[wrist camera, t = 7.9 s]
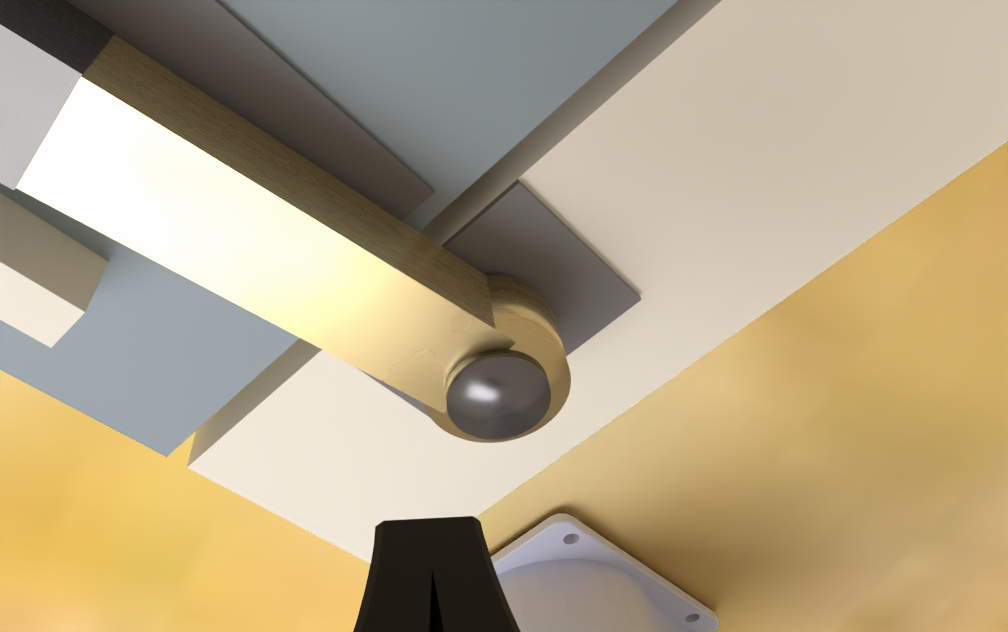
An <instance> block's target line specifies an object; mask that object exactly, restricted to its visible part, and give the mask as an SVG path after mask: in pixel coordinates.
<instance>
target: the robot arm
mask: <svg viewBox="0 0 1008 632" xmlns="http://www.w3.org/2000/svg"><path fill="white" fill-rule="evenodd" d="M719 627H720V621H719V618H718V616H717V614H716V613H715V612H713V611H712V610H710V609H709V608H707V607H706V606H704V605H703V604H701V603H700V602H698V601H697V600H695V599H694V598H692V597H691V596H689V595H688V594H686V593H685V592H683V591H682V590H681V589H679V588H678V587H676V586H675V585H673V584H672V583H670V582H669V581H667V580H666V579H664V578H663V577H661V576H660V575H658V574H657V573H655V572H654V571H652V570H651V569H649V568H648V567H646V566H645V565H644V564H642V563H641V562H639V561H638V560H636V559H635V558H633V557H632V556H630V555H629V554H627V553H626V552H624V551H623V550H621V549H620V548H618V547H617V546H615V545H614V544H612V543H611V542H609V541H608V540H607V539H605V538H604V537H602V536H601V535H599V534H598V533H596V532H595V531H593V530H592V529H590V528H589V527H587V526H586V525H584V524H583V523H581V522H580V521H578V520H577V519H575V518H574V517H572V516H571V515H568V514H564V513H559V514H555V515H553V516H550V517H549V518H547V519H546V520H544V521H543V522H542V523H540V524H539V525H537V526H536V527H534V528H533V529H531V530H530V531H528V532H527V533H525V534H524V535H522V536H521V537H519V538H518V539H516V540H515V541H514V542H512V543H511V544H509V545H508V546H506V547H505V548H503V549H502V550H500V551H499V552H497V553H496V554H494V555H493V556H491V557H490V554H489V551H488V548H487V545H486V541H485V538H484V535H483V531H482V527H481V522H480V521H479V520H478V519H476V518H475V517H473V516H464V517H444V518H424V519H405V520H385V521H382V522H381V523H380V524H378V525H377V526H376V527H375V537H374V547H373V553H372V559H371V565H370V570H369V575H368V579H367V584H366V588H365V592H364V596H363V600H362V603H361V607H360V611H359V615H358V619H357V622H356V625H355V628H354V631H353V632H715V631H716V630H718V628H719Z"/></svg>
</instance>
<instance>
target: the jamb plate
mask: <svg viewBox="0 0 1008 632" xmlns="http://www.w3.org/2000/svg"><path fill="white" fill-rule="evenodd" d="M1007 141H1008V0H678V1H677V2H676V3H675V4H674V5H673V6H671V7H670V8H669V9H668V10H667V11H666V12H665V13H664V14H662V15H661V16H660V17H659V18H658V19H657V20H656V21H655V22H653V23H652V24H651V25H650V26H649V27H648V28H647V29H646V30H644V31H643V32H642V33H641V34H640V35H639V36H638V37H637V38H636V39H634V40H633V41H632V42H631V43H630V44H629V45H628V46H627V47H625V48H624V49H623V50H622V51H621V52H620V53H619V54H618V55H616V56H615V57H614V58H613V59H612V60H611V61H610V62H609V63H608V64H606V65H605V66H604V67H603V68H602V69H601V70H600V71H599V72H597V73H596V74H595V75H594V76H593V77H592V78H591V79H590V80H588V81H587V82H586V83H585V84H584V85H583V86H582V87H581V88H580V89H578V90H577V91H576V92H575V93H574V94H573V95H572V96H571V97H569V98H568V99H567V100H566V101H565V102H564V103H563V104H562V105H560V106H559V107H558V108H557V109H556V110H555V111H554V112H553V113H551V114H550V115H549V116H548V117H547V118H546V119H545V120H544V121H543V122H541V123H540V124H539V125H538V126H537V127H536V128H535V129H534V130H532V131H531V132H530V133H529V134H528V135H527V136H526V137H525V138H523V139H522V140H521V141H520V142H519V143H518V144H517V145H516V146H515V147H513V148H512V149H511V150H510V151H509V152H508V153H507V154H506V155H504V156H503V157H502V158H501V159H500V160H499V161H498V162H497V163H495V164H494V165H493V166H492V167H491V168H490V169H489V170H488V171H486V172H485V173H484V174H483V175H482V176H481V177H480V178H479V179H478V180H476V181H475V182H474V183H473V184H472V185H471V186H470V187H469V188H467V189H466V190H465V191H464V192H463V193H462V194H461V195H460V196H458V197H457V198H456V199H455V200H454V201H453V202H452V203H451V204H450V205H448V206H447V207H446V208H445V209H444V210H443V211H442V212H441V213H439V214H438V215H437V216H436V217H435V218H434V219H433V220H432V221H430V222H429V223H428V224H427V225H426V226H425V227H424V228H423V229H422V230H420V231H419V232H420V233H422V234H423V235H425V236H427V237H428V238H430V239H431V240H433V241H434V242H436V243H437V244H439V245H440V246H442V247H444V248H445V249H447V250H448V251H450V252H451V253H453V254H454V255H456V256H457V257H459V258H461V259H462V260H464V261H465V262H467V263H468V264H470V265H471V266H473V267H474V268H476V269H478V270H479V271H481V272H482V273H484V274H485V275H504V276H510V277H514V278H517V279H520V280H522V281H525V282H527V283H529V284H530V285H532V286H534V287H535V288H536V289H538V290H539V291H540V292H541V293H542V294H543V295H544V296H545V297H546V299H547V300H548V302H549V303H550V305H551V307H552V310H553V313H554V316H555V320H556V323H557V327H558V330H559V334H560V337H561V341H562V344H563V348H564V352H565V355H566V359H567V362H568V366H569V369H570V374H571V387H570V392H569V395H568V398H567V400H566V402H565V404H564V406H563V407H562V409H561V410H560V411H559V413H558V414H557V415H556V416H555V417H554V418H553V419H552V420H551V421H550V422H549V423H547V424H546V425H545V426H543V427H542V428H540V429H539V430H537V431H535V432H533V433H531V434H529V435H526V436H524V437H521V438H518V439H514V440H511V441H505V442H497V443H481V442H473V441H468V440H464V439H461V438H458V437H456V436H453V435H451V434H449V433H447V432H446V431H444V430H443V429H441V428H440V427H439V426H438V425H436V424H435V422H434V421H433V420H432V419H431V418H430V416H429V415H428V413H427V411H426V409H425V407H424V404H423V403H422V402H421V401H419V400H417V399H415V398H413V397H411V396H409V395H407V394H405V393H404V392H402V391H400V390H398V389H396V388H394V387H392V386H390V385H388V384H386V383H385V382H383V381H381V380H379V379H377V378H375V377H373V376H371V375H369V374H368V373H366V372H364V371H362V370H360V369H358V368H356V367H354V366H352V365H351V364H349V363H347V362H345V361H343V360H341V359H339V358H337V357H335V356H333V355H332V354H330V353H328V352H326V351H324V350H322V349H320V348H318V347H316V346H315V345H313V344H311V343H309V342H307V341H305V340H303V339H301V338H299V339H298V340H297V341H296V342H295V343H294V344H293V345H292V346H290V347H289V348H288V349H287V350H286V351H285V352H284V353H283V354H281V355H280V356H279V357H278V358H277V359H276V360H275V361H274V362H272V363H271V364H270V365H269V366H268V367H267V368H266V369H265V370H264V371H262V372H261V373H260V374H259V375H258V376H257V377H256V378H255V379H253V380H252V381H251V382H250V383H249V384H248V385H247V386H246V387H244V388H243V389H242V390H241V391H240V392H239V393H238V394H237V395H235V396H234V397H233V398H232V399H231V400H230V401H229V402H228V403H227V404H225V405H224V406H223V407H222V408H221V409H220V410H219V411H218V412H216V413H215V414H214V415H213V416H212V417H211V418H210V419H209V420H207V421H206V422H205V423H204V424H203V425H202V426H201V427H200V428H199V429H197V430H196V434H195V438H194V442H193V446H192V450H191V454H190V458H189V462H188V466H187V468H189V469H191V470H193V471H194V472H196V473H198V474H200V475H202V476H204V477H206V478H208V479H210V480H212V481H214V482H215V483H217V484H219V485H221V486H223V487H225V488H227V489H229V490H231V491H233V492H234V493H236V494H238V495H240V496H242V497H244V498H246V499H248V500H250V501H252V502H254V503H255V504H257V505H259V506H261V507H263V508H265V509H267V510H269V511H271V512H273V513H274V514H276V515H278V516H280V517H282V518H284V519H286V520H288V521H290V522H292V523H294V524H295V525H297V526H299V527H301V528H303V529H305V530H307V531H309V532H311V533H313V534H314V535H316V536H318V537H320V538H322V539H324V540H326V541H328V542H330V543H332V544H334V545H335V546H337V547H339V548H341V549H343V550H345V551H347V552H349V553H351V554H353V555H354V556H356V557H358V558H360V559H362V560H364V561H366V562H368V563H370V564H371V559H372V553H373V547H374V537H375V527H376V526H377V525H378V524H380V523H381V522H382V521H385V520H405V519H424V518H444V517H464V516H473V517H476V516H478V515H479V514H481V513H482V512H483V511H485V510H486V509H488V508H489V507H491V506H492V505H493V504H495V503H496V502H498V501H499V500H500V499H502V498H503V497H505V496H506V495H508V494H509V493H510V492H512V491H513V490H515V489H516V488H517V487H519V486H520V485H522V484H523V483H525V482H526V481H527V480H529V479H530V478H532V477H533V476H534V475H536V474H537V473H539V472H540V471H542V470H543V469H544V468H546V467H547V466H549V465H550V464H551V463H553V462H554V461H556V460H557V459H559V458H560V457H561V456H563V455H564V454H566V453H567V452H568V451H570V450H571V449H573V448H574V447H575V446H577V445H578V444H580V443H581V442H583V441H584V440H585V439H587V438H588V437H590V436H591V435H592V434H594V433H595V432H597V431H598V430H600V429H601V428H602V427H604V426H605V425H607V424H608V423H609V422H611V421H612V420H614V419H615V418H617V417H618V416H619V415H621V414H622V413H624V412H625V411H626V410H628V409H629V408H631V407H632V406H634V405H635V404H636V403H638V402H639V401H641V400H642V399H643V398H645V397H646V396H648V395H649V394H651V393H652V392H653V391H655V390H656V389H658V388H659V387H660V386H662V385H663V384H665V383H666V382H668V381H669V380H670V379H672V378H673V377H675V376H676V375H677V374H679V373H680V372H682V371H683V370H684V369H686V368H687V367H689V366H690V365H692V364H693V363H694V362H696V361H697V360H699V359H700V358H701V357H703V356H704V355H706V354H707V353H709V352H710V351H711V350H713V349H714V348H716V347H717V346H718V345H720V344H721V343H723V342H724V341H726V340H727V339H728V338H730V337H731V336H733V335H734V334H735V333H737V332H738V331H740V330H741V329H743V328H744V327H745V326H747V325H748V324H750V323H751V322H752V321H754V320H755V319H757V318H758V317H760V316H761V315H762V314H764V313H765V312H767V311H768V310H769V309H771V308H772V307H774V306H775V305H776V304H778V303H779V302H781V301H782V300H784V299H785V298H786V297H788V296H789V295H791V294H792V293H793V292H795V291H796V290H798V289H799V288H801V287H802V286H803V285H805V284H806V283H808V282H809V281H810V280H812V279H813V278H815V277H816V276H818V275H819V274H820V273H822V272H823V271H825V270H826V269H827V268H829V267H830V266H832V265H833V264H835V263H836V262H837V261H839V260H840V259H842V258H843V257H844V256H846V255H847V254H849V253H850V252H852V251H853V250H854V249H856V248H857V247H859V246H860V245H861V244H863V243H864V242H866V241H867V240H869V239H870V238H871V237H873V236H874V235H876V234H877V233H878V232H880V231H881V230H883V229H884V228H885V227H887V226H888V225H890V224H891V223H893V222H894V221H895V220H897V219H898V218H900V217H901V216H902V215H904V214H905V213H907V212H908V211H910V210H911V209H912V208H914V207H915V206H917V205H918V204H919V203H921V202H922V201H924V200H925V199H927V198H928V197H929V196H931V195H932V194H934V193H935V192H936V191H938V190H939V189H941V188H942V187H944V186H945V185H946V184H948V183H949V182H951V181H952V180H953V179H955V178H956V177H958V176H959V175H961V174H962V173H963V172H965V171H966V170H968V169H969V168H970V167H972V166H973V165H975V164H976V163H978V162H979V161H980V160H982V159H983V158H985V157H986V156H987V155H989V154H990V153H992V152H993V151H994V150H996V149H997V148H999V147H1000V146H1002V145H1003V144H1004V143H1006V142H1007Z"/></svg>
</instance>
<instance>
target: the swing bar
mask: <svg viewBox="0 0 1008 632" xmlns="http://www.w3.org/2000/svg"><path fill="white" fill-rule="evenodd" d="M114 34H115V32H114V31H112V30H110V29H109V28H107V27H106V26H104V25H103V24H101V23H100V22H98V21H97V20H95V19H93V18H92V17H90V16H89V15H87V14H86V13H84V12H83V11H81V10H80V9H78V8H76V7H75V6H73V5H72V4H70V3H69V2H67V1H66V0H0V183H1V184H3V185H5V186H7V187H9V188H10V189H12V190H15V189H16V188H17V189H19V190H21V191H23V192H25V193H27V194H29V195H31V196H32V197H34V198H36V199H38V200H40V201H42V202H44V203H46V204H48V205H50V206H51V207H53V208H55V209H57V210H59V211H61V212H63V213H65V214H67V215H68V216H70V217H72V218H74V219H76V220H78V221H80V222H82V223H84V224H85V225H87V226H89V227H91V228H93V229H95V230H97V231H99V232H101V233H103V234H104V235H106V236H108V237H110V238H112V239H114V240H116V241H118V242H120V243H121V244H123V245H125V246H127V247H129V248H131V249H133V250H135V251H137V252H138V253H140V254H142V255H144V256H146V257H148V258H150V259H152V260H154V261H156V262H157V263H159V264H161V265H163V266H165V267H167V268H169V269H171V270H173V271H174V272H176V273H178V274H180V275H182V276H184V277H186V278H188V279H190V280H191V281H193V282H195V283H197V284H199V285H201V286H203V287H205V288H207V289H209V290H210V291H212V292H214V293H216V294H218V295H220V296H222V297H224V298H226V299H227V300H229V301H231V302H233V303H235V304H237V305H239V306H241V307H243V308H244V309H246V310H248V311H250V312H252V313H254V314H256V315H258V316H260V317H262V318H263V319H265V320H267V321H269V322H271V323H273V324H275V325H277V326H279V327H280V328H282V329H284V330H286V331H288V332H290V333H292V334H294V335H296V336H297V337H299V338H301V339H303V340H305V341H307V342H309V343H311V344H313V345H315V346H316V347H318V348H320V349H322V350H324V351H326V352H328V353H330V354H332V355H333V356H335V357H337V358H339V359H341V360H343V361H345V362H347V363H349V364H351V365H352V366H354V367H356V368H358V369H360V370H362V371H364V372H366V373H368V374H369V375H371V376H373V377H375V378H377V379H379V380H381V381H383V382H385V383H386V384H388V385H390V386H392V387H394V388H396V389H398V390H400V391H402V392H404V393H405V394H407V395H409V396H411V397H413V398H415V399H417V400H419V401H421V402H422V403H423V404H424V407H425V409H426V411H427V413H428V415H429V416H430V418H431V419H432V420H433V421H434V422H435V424H436V425H438V426H439V427H440V428H441V429H443V430H444V431H446V432H447V433H449V434H451V435H453V436H456V437H458V438H461V439H464V440H468V441H473V442H481V443H497V442H505V441H511V440H514V439H518V438H521V437H524V436H526V435H529V434H531V433H533V432H535V431H537V430H539V429H540V428H542V427H543V426H545V425H546V424H547V423H549V422H550V421H551V420H552V419H553V418H554V417H555V416H556V415H557V414H558V413H559V411H560V410H561V409H562V407H563V406H564V404H565V402H566V400H567V398H568V395H569V392H570V387H571V374H570V369H569V366H568V362H567V359H566V355H565V352H564V348H563V344H562V341H561V337H560V334H559V330H558V327H557V323H556V320H555V316H554V313H553V310H552V307H551V305H550V303H549V302H548V300H547V299H546V297H545V296H544V295H543V294H542V293H541V292H540V291H539V290H538V289H536V288H535V287H534V286H532V285H530V284H529V283H527V282H525V281H522V280H520V279H517V278H514V277H510V276H504V275H485V274H484V273H482V272H481V271H479V270H478V269H476V268H474V267H473V266H471V265H470V264H468V263H467V262H465V261H464V260H462V259H461V258H459V257H457V256H456V255H454V254H453V253H451V252H450V251H448V250H447V249H445V248H444V247H442V246H440V245H439V244H437V243H436V242H434V241H433V240H431V239H430V238H428V237H427V236H425V235H423V234H422V233H420V232H419V231H417V230H416V229H414V228H413V227H411V226H410V225H408V224H406V223H405V222H403V221H402V220H400V219H399V218H397V217H396V216H394V215H393V214H391V213H389V212H388V211H386V210H385V209H383V208H382V207H380V206H379V205H377V204H375V203H374V202H372V201H371V200H369V199H368V198H366V197H365V196H363V195H362V194H360V193H358V192H357V191H355V190H354V189H352V188H351V187H349V186H348V185H346V184H345V183H343V182H341V181H340V180H338V179H337V178H335V177H334V176H332V175H331V174H329V173H328V172H326V171H324V170H323V169H321V168H320V167H318V166H317V165H315V164H314V163H312V162H311V161H309V160H307V159H306V158H304V157H303V156H301V155H300V154H298V153H297V152H295V151H294V150H292V149H290V148H289V147H287V146H286V145H284V144H283V143H281V142H280V141H278V140H277V139H275V138H273V137H272V136H270V135H269V134H267V133H266V132H264V131H263V130H261V129H260V128H258V127H256V126H255V125H253V124H252V123H250V122H249V121H247V120H246V119H244V118H243V117H241V116H239V115H238V114H236V113H235V112H233V111H232V110H230V109H229V108H227V107H226V106H224V105H222V104H221V103H219V102H218V101H216V100H215V99H213V98H212V97H210V96H208V95H207V94H205V93H204V92H202V91H201V90H199V89H198V88H196V87H195V86H193V85H191V84H190V83H188V82H187V81H185V80H184V79H182V78H181V77H179V76H178V75H176V74H174V73H173V72H171V71H170V70H168V69H167V68H165V67H164V66H162V65H161V64H159V63H157V62H156V61H154V60H153V59H151V58H150V57H148V56H147V55H145V54H144V53H142V52H140V51H139V50H137V49H136V48H134V47H133V46H131V45H130V44H128V43H127V42H125V41H123V40H122V39H120V38H119V37H117V36H116V35H114Z"/></svg>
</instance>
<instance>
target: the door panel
mask: <svg viewBox="0 0 1008 632" xmlns="http://www.w3.org/2000/svg"><path fill="white" fill-rule="evenodd" d="M66 1H67V2H69V3H70V4H72V5H73V6H75V7H76V8H78V9H80V10H81V11H83V12H84V13H86V14H87V15H89V16H90V17H92V18H93V19H95V20H97V21H98V22H100V23H101V24H103V25H104V26H106V27H107V28H109V29H110V30H112V31H114V32H115V34H114V35H116V36H117V37H119V38H120V39H122V40H123V41H125V42H127V43H128V44H130V45H131V46H133V47H134V48H136V49H137V50H139V51H140V52H142V53H144V54H145V55H147V56H148V57H150V58H151V59H153V60H154V61H156V62H157V63H159V64H161V65H162V66H164V67H165V68H167V69H168V70H170V71H171V72H173V73H174V74H176V75H178V76H179V77H181V78H182V79H184V80H185V81H187V82H188V83H190V84H191V85H193V86H195V87H196V88H198V89H199V90H201V91H202V92H204V93H205V94H207V95H208V96H210V97H212V98H213V99H215V100H216V101H218V102H219V103H221V104H222V105H224V106H226V107H227V108H229V109H230V110H232V111H233V112H235V113H236V114H238V115H239V116H241V117H243V118H244V119H246V120H247V121H249V122H250V123H252V124H253V125H255V126H256V127H258V128H260V129H261V130H263V131H264V132H266V133H267V134H269V135H270V136H272V137H273V138H275V139H277V140H278V141H280V142H281V143H283V144H284V145H286V146H287V147H289V148H290V149H292V150H294V151H295V152H297V153H298V154H300V155H301V156H303V157H304V158H306V159H307V160H309V161H311V162H312V163H314V164H315V165H317V166H318V167H320V168H321V169H323V170H324V171H326V172H328V173H329V174H331V175H332V176H334V177H335V178H337V179H338V180H340V181H341V182H343V183H345V184H346V185H348V186H349V187H351V188H352V189H354V190H355V191H357V192H358V193H360V194H362V195H363V196H365V197H366V198H368V199H369V200H371V201H372V202H374V203H375V204H377V205H379V206H380V207H382V208H383V209H385V210H386V211H388V212H389V213H391V214H393V215H394V216H396V217H397V218H399V219H400V220H402V221H403V222H405V223H406V224H408V225H410V226H411V227H413V228H414V229H416V230H417V231H420V230H422V229H423V228H424V227H425V226H426V225H427V224H428V223H429V222H430V221H432V220H433V219H434V218H435V217H436V216H437V215H438V214H439V213H441V212H442V211H443V210H444V209H445V208H446V207H447V206H448V205H450V204H451V203H452V202H453V201H454V200H455V199H456V198H457V197H458V196H460V195H461V194H462V193H463V192H464V191H465V190H466V189H467V188H469V187H470V186H471V185H472V184H473V183H474V182H475V181H476V180H478V179H479V178H480V177H481V176H482V175H483V174H484V173H485V172H486V171H488V170H489V169H490V168H491V167H492V166H493V165H494V164H495V163H497V162H498V161H499V160H500V159H501V158H502V157H503V156H504V155H506V154H507V153H508V152H509V151H510V150H511V149H512V148H513V147H515V146H516V145H517V144H518V143H519V142H520V141H521V140H522V139H523V138H525V137H526V136H527V135H528V134H529V133H530V132H531V131H532V130H534V129H535V128H536V127H537V126H538V125H539V124H540V123H541V122H543V121H544V120H545V119H546V118H547V117H548V116H549V115H550V114H551V113H553V112H554V111H555V110H556V109H557V108H558V107H559V106H560V105H562V104H563V103H564V102H565V101H566V100H567V99H568V98H569V97H571V96H572V95H573V94H574V93H575V92H576V91H577V90H578V89H580V88H581V87H582V86H583V85H584V84H585V83H586V82H587V81H588V80H590V79H591V78H592V77H593V76H594V75H595V74H596V73H597V72H599V71H600V70H601V69H602V68H603V67H604V66H605V65H606V64H608V63H609V62H610V61H611V60H612V59H613V58H614V57H615V56H616V55H618V54H619V53H620V52H621V51H622V50H623V49H624V48H625V47H627V46H628V45H629V44H630V43H631V42H632V41H633V40H634V39H636V38H637V37H638V36H639V35H640V34H641V33H642V32H643V31H644V30H646V29H647V28H648V27H649V26H650V25H651V24H652V23H653V22H655V21H656V20H657V19H658V18H659V17H660V16H661V15H662V14H664V13H665V12H666V11H667V10H668V9H669V8H670V7H671V6H673V5H674V4H675V3H676V2H677V1H678V0H66ZM298 339H299V337H297V336H296V335H294V334H292V333H290V332H288V331H286V330H284V329H282V328H280V327H279V326H277V325H275V324H273V323H271V322H269V321H267V320H265V319H263V318H262V317H260V316H258V315H256V314H254V313H252V312H250V311H248V310H246V309H244V308H243V307H241V306H239V305H237V304H235V303H233V302H231V301H229V300H227V299H226V298H224V297H222V296H220V295H218V294H216V293H214V292H212V291H210V290H209V289H207V288H205V287H203V286H201V285H199V284H197V283H195V282H193V281H191V280H190V279H188V278H186V277H184V276H182V275H180V274H178V273H176V272H174V271H173V270H171V269H169V268H167V267H165V266H163V265H161V264H159V263H157V262H156V261H154V260H152V259H150V258H148V257H146V256H144V255H142V254H140V253H138V252H137V251H135V250H133V249H131V248H129V247H127V246H125V245H123V244H121V243H120V242H118V241H116V240H114V239H112V238H110V237H108V236H106V235H104V234H103V233H101V232H99V231H97V230H95V229H93V228H91V227H89V226H87V225H85V224H84V223H82V222H80V221H78V220H76V219H74V218H72V217H70V216H68V215H67V214H65V213H63V212H61V211H59V210H57V209H55V208H53V207H51V206H50V205H48V204H46V203H44V202H42V201H40V200H38V199H36V198H34V197H32V196H31V195H29V194H27V193H25V192H23V191H21V190H19V189H17V188H16V189H15V190H12V189H10V188H9V187H7V186H5V185H3V184H1V183H0V370H2V371H4V372H6V373H8V374H10V375H12V376H14V377H15V378H17V379H19V380H21V381H23V382H25V383H27V384H29V385H31V386H33V387H35V388H36V389H38V390H40V391H42V392H44V393H46V394H48V395H50V396H52V397H54V398H55V399H57V400H59V401H61V402H63V403H65V404H67V405H69V406H71V407H73V408H75V409H76V410H78V411H80V412H82V413H84V414H86V415H88V416H90V417H92V418H94V419H95V420H97V421H99V422H101V423H103V424H105V425H107V426H109V427H111V428H113V429H115V430H116V431H118V432H120V433H122V434H124V435H126V436H128V437H130V438H132V439H134V440H135V441H137V442H139V443H141V444H143V445H145V446H147V447H149V448H151V449H153V450H154V451H156V452H158V453H160V454H162V455H164V456H166V457H167V456H168V455H169V454H170V453H172V452H173V451H174V450H175V449H176V448H177V447H178V446H179V445H181V444H182V443H183V442H184V441H185V440H186V439H187V438H188V437H190V436H191V435H192V434H193V433H194V432H195V431H196V430H197V429H199V428H200V427H201V426H202V425H203V424H204V423H205V422H206V421H207V420H209V419H210V418H211V417H212V416H213V415H214V414H215V413H216V412H218V411H219V410H220V409H221V408H222V407H223V406H224V405H225V404H227V403H228V402H229V401H230V400H231V399H232V398H233V397H234V396H235V395H237V394H238V393H239V392H240V391H241V390H242V389H243V388H244V387H246V386H247V385H248V384H249V383H250V382H251V381H252V380H253V379H255V378H256V377H257V376H258V375H259V374H260V373H261V372H262V371H264V370H265V369H266V368H267V367H268V366H269V365H270V364H271V363H272V362H274V361H275V360H276V359H277V358H278V357H279V356H280V355H281V354H283V353H284V352H285V351H286V350H287V349H288V348H289V347H290V346H292V345H293V344H294V343H295V342H296V341H297V340H298Z"/></svg>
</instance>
